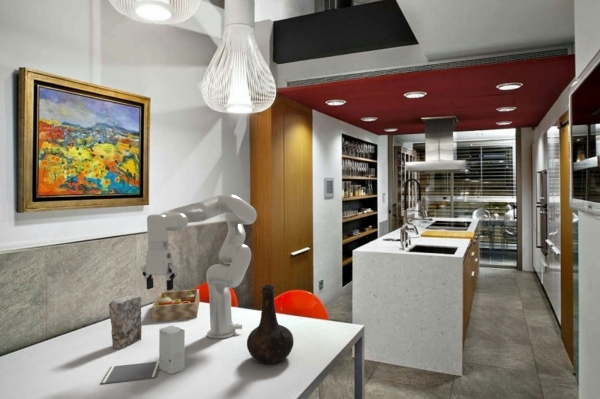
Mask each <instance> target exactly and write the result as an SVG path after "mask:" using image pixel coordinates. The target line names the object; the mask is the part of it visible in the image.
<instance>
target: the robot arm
mask: <svg viewBox="0 0 600 399" xmlns="http://www.w3.org/2000/svg"><path fill="white" fill-rule="evenodd" d="M222 214H224V218H225V221H226V224H227V228H228V232H227V235H226V237H225V238H224V239H225V240H224V241H223V244H222V245H221V248H220V251H219V253H218V259H219V262H221V263H223V264H221V263H220V264H218V263H217V264H216V263H215V264H213V265H211V266H209V267H208V269H207V271H206V275H205V277H206V283H207V287H208V296H209V301H208V302H209V318H210V319H209V323H210V324H209V325H210V329H209V330H208V331H207V334H206V336H207V337H208V338H210V339H215V340H216V339H218V340H221V339H226V338H230V337H232V336H234V335H236V330H242V329H243V325H242V324H240V323H236V324H235V323H233V321H232V319H233V318H232V294H231V290H230V289H234V288H238V286H240V284H241V283H242V281H243V280H244V277H245V274H246V272H247V270H248V268H249V265H250V263H251V259H252V251H251V248H250V247H249V246H248V245H246V244H245V240H246V231H245V227H244V225H251V224H254V223H255V222H256V220H257V217H258V216H257V211H256V209H255V208H254V206H252V205H251V204H249V203H248V202H246V201H245V200H244V199H242V198H240V197H239V196H237V195H234V194H219V195H215V196H211V197H210V198H206V199H204V200H200V201H197V202H193V203H191V204H187V205H186V204H185V205H183V206H179V207H175V208H172V209H169V210H167V211H163V212H160V213H159V214H158V213H157V214H156V213H155V214H150V215H148V216H147V217H146V227H147V228H146V229H147V230H146V231H147V250H146V256H145V264H144V265H143V266H141V267H140V270H141V272H142V275H143V277H144V279H145V280H146V281H145V282H146V290H150V289H153V288H154V277H153V276H165V278H166V292H170V291H172V290H174V280H175V278H176V276H177V275H178V272H179V268H178V267H177V266H175V265H174V260H173V254H172V251H171V248H169V247H170V246H171V243H170V242H169V233H168V232H181V231H183V230H184V229H186V228H187V227H188V224H191V223H200V222H204V221H208V220H210V219H212V218H215V217H217V216H219V215H222ZM227 264H228V265H227Z"/></svg>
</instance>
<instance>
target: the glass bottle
mask: <svg viewBox="0 0 600 399" xmlns="http://www.w3.org/2000/svg"><path fill="white" fill-rule="evenodd" d="M274 287H275V285H274V284H265V285H262V286H261V290H260V291H259V293H261V296H262V297H261V300H262V301H261V311H260V312H261V313H260V320H259V324H258V326H257V327H255V328H253V329H252V330H251V331H250V333H249V334H248V337H247V339H246V340H247V341H246V348H247V351H248V352H249V355H250V356H251V357H252V358H253V359H254V360H255V361H257V362H259V363H261V364H268V365H269V364H277V363H279V362H282V361H284V360H285V359H287V357H289V355H290V353H291V352H292V350H293V347H294V343H295V342H294V336H293V333H292V332H291V330H290V329H289V328H287V327H285V326H284V325H282V324H279V322H278V318H277V313H276V307H275V306H276V305H275V293H276V291H277V290H276V289H274Z"/></svg>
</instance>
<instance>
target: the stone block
mask: <svg viewBox="0 0 600 399" xmlns="http://www.w3.org/2000/svg"><path fill="white" fill-rule="evenodd" d="M108 305H109V306H108V309H109V311H108V312H109V317H110V325H111V341H112V345H111V346H112V348H113V349H117V350H123V348H124V349H126V348H127V346H128V347H129V346H131V345H133V344H135V343H137V342H139V341H140V340H142V324H143V323H142V297H141V296H139V295H134V294H130V295H125V296H122V297H119V298H116V299H112V301H110V302H109V304H108ZM125 347H126V348H125Z"/></svg>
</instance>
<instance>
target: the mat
mask: <svg viewBox="0 0 600 399" xmlns="http://www.w3.org/2000/svg"><path fill="white" fill-rule="evenodd" d="M159 370H160V369H159V360H157V361H150V362H141V363H131V364H129V363H128V364H123V365H112V366H110V367H109V368H108V370H107V372H106V373H105V375H104V376H103V379H102V380H101V381H100V385H107V384H115V383H116V384H118V383H122V382H123V383H124V382H133V381H141V380H150V379H156V378H157V376H158V373H159Z"/></svg>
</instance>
